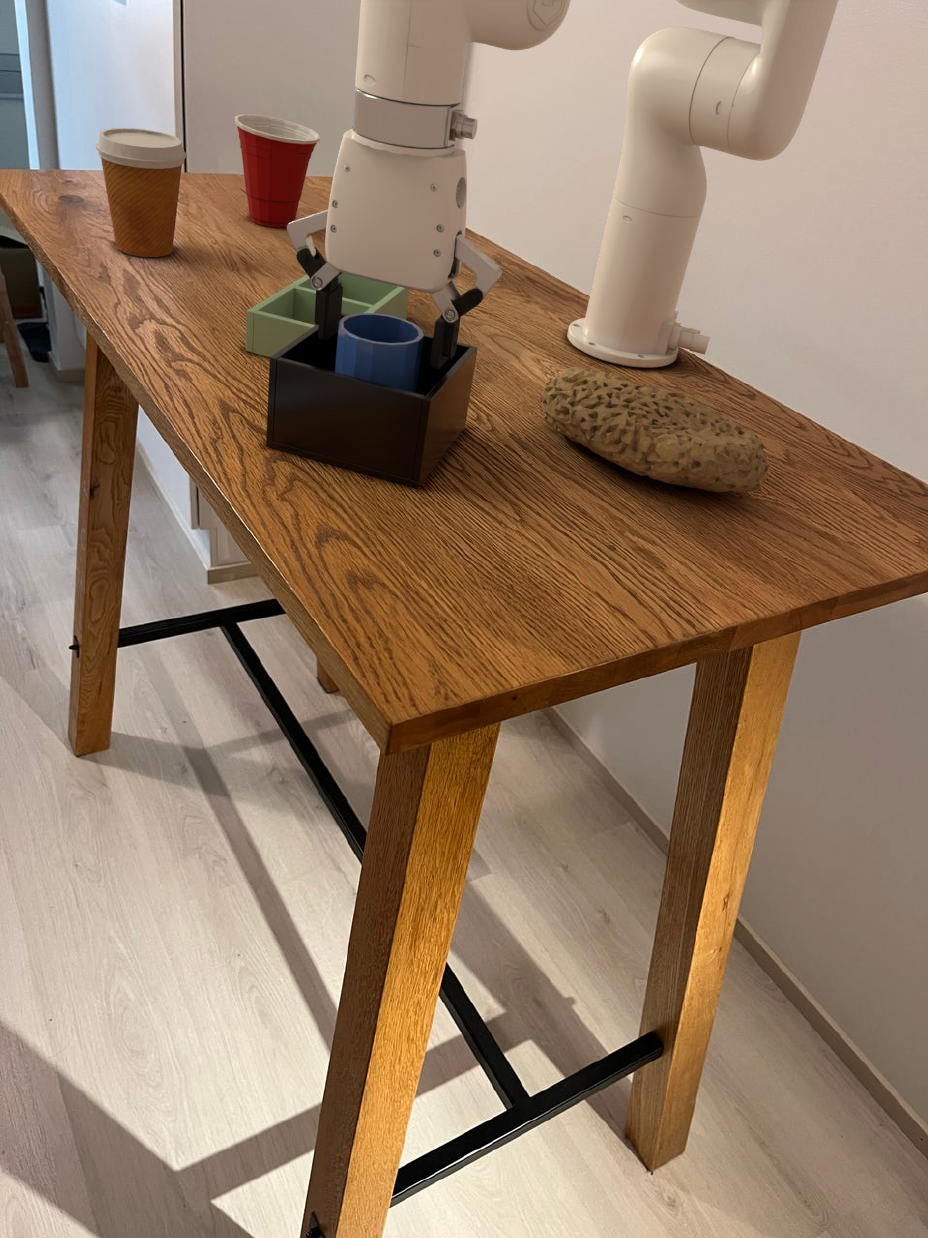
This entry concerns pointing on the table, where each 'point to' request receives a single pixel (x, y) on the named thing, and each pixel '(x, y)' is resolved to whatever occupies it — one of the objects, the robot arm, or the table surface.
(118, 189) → the disposable coffee cup
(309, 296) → the green divided tray
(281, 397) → the open box
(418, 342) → the blue cup
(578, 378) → the sponge
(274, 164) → the plastic cup
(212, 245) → the table surface
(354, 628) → the table surface
